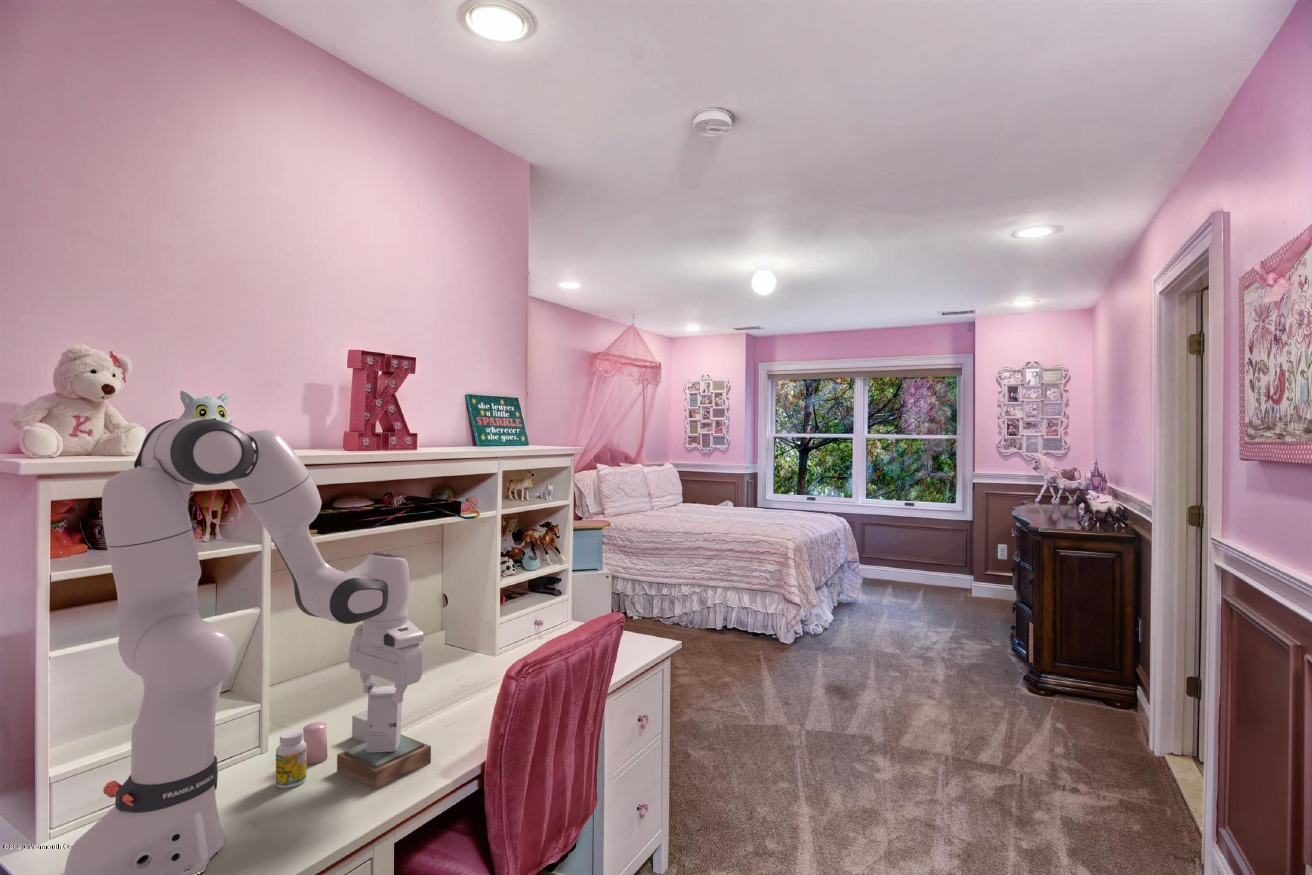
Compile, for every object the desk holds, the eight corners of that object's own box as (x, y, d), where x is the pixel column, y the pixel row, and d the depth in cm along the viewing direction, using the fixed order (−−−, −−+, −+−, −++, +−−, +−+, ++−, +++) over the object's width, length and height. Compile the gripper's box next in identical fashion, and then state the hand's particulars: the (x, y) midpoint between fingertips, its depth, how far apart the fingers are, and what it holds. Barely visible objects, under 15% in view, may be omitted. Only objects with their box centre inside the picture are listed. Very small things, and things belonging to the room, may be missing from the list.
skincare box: (365, 753, 134) (366, 694, 134) (371, 743, 139) (372, 686, 139) (397, 751, 135) (397, 692, 135) (402, 741, 140) (402, 684, 140)
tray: (375, 789, 128) (375, 768, 128) (336, 771, 135) (337, 751, 135) (430, 762, 139) (430, 743, 139) (392, 746, 146) (392, 728, 146)
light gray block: (365, 742, 148) (365, 720, 148) (352, 737, 151) (352, 715, 151) (384, 734, 152) (385, 713, 152) (371, 729, 155) (371, 708, 155)
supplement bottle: (312, 776, 133) (313, 729, 133) (292, 790, 127) (293, 740, 127) (289, 774, 134) (289, 726, 134) (268, 787, 128) (269, 738, 129)
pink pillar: (316, 765, 137) (315, 731, 137) (299, 762, 138) (298, 729, 138) (332, 755, 141) (331, 722, 141) (315, 752, 143) (314, 720, 143)
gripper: (342, 625, 140) (339, 690, 140) (402, 641, 129) (400, 713, 129) (368, 619, 145) (366, 682, 145) (429, 635, 134) (426, 703, 134)
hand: (382, 697), depth 137 cm, fingers open, 8 cm apart
